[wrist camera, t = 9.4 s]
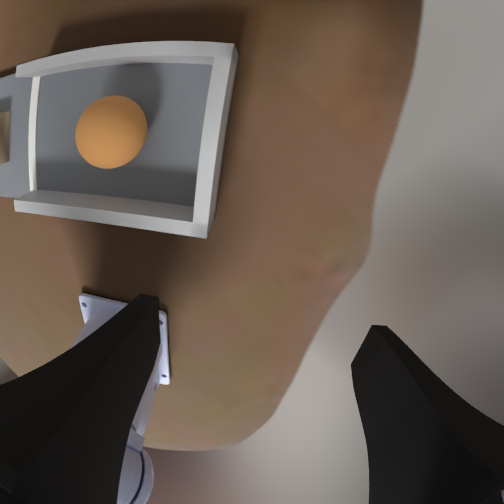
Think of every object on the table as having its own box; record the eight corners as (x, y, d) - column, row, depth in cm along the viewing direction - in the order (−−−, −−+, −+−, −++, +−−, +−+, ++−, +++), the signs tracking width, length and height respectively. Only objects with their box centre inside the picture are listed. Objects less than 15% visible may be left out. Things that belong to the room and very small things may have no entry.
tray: (215, 217, 18) (206, 238, 15) (-13, 191, 17) (-36, 204, 14) (238, 56, 13) (233, 43, 10) (-12, 84, 12) (-38, 87, 9)
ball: (153, 163, 16) (128, 178, 12) (94, 160, 15) (60, 174, 12) (160, 97, 14) (136, 92, 10) (99, 97, 13) (64, 96, 10)
